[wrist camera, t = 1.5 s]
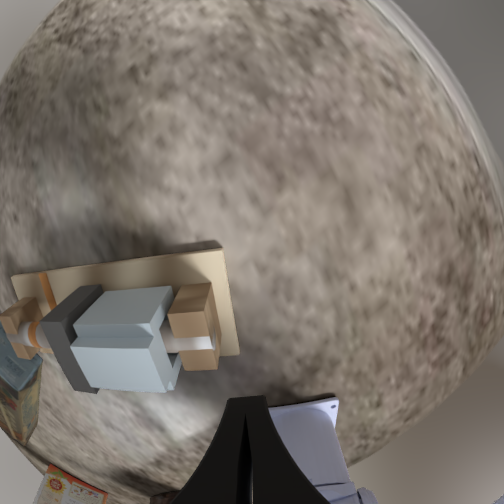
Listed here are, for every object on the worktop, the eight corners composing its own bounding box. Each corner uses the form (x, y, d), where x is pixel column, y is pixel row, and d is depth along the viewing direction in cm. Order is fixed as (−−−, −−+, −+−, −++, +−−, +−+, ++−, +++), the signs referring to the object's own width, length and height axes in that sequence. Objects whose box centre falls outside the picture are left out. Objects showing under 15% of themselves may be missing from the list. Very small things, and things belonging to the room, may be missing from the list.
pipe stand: (223, 247, 17) (216, 273, 13) (239, 350, 19) (239, 392, 15) (14, 275, 17) (-17, 294, 13) (44, 349, 20) (21, 374, 15)
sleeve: (171, 285, 17) (143, 334, 11) (186, 344, 18) (170, 402, 12) (105, 291, 17) (64, 334, 11) (125, 346, 18) (96, 396, 13)
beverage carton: (48, 359, 20) (17, 398, 14) (40, 423, 25) (24, 451, 18) (-1, 314, 19) (-35, 343, 12) (3, 392, 23) (-16, 416, 17)
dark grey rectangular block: (100, 284, 17) (60, 322, 12) (123, 347, 18) (96, 393, 13) (80, 286, 17) (39, 321, 12) (102, 347, 18) (74, 390, 13)
